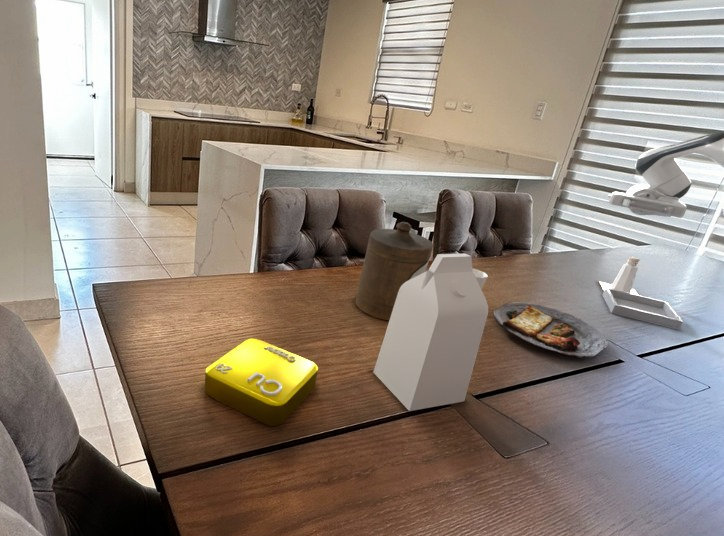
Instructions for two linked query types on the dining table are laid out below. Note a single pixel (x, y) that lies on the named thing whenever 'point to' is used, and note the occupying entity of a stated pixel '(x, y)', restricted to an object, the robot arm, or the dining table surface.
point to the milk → (434, 335)
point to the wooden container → (390, 267)
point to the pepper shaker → (626, 276)
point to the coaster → (606, 285)
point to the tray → (642, 308)
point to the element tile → (261, 381)
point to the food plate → (550, 329)
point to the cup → (480, 277)
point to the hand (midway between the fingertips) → (648, 208)
